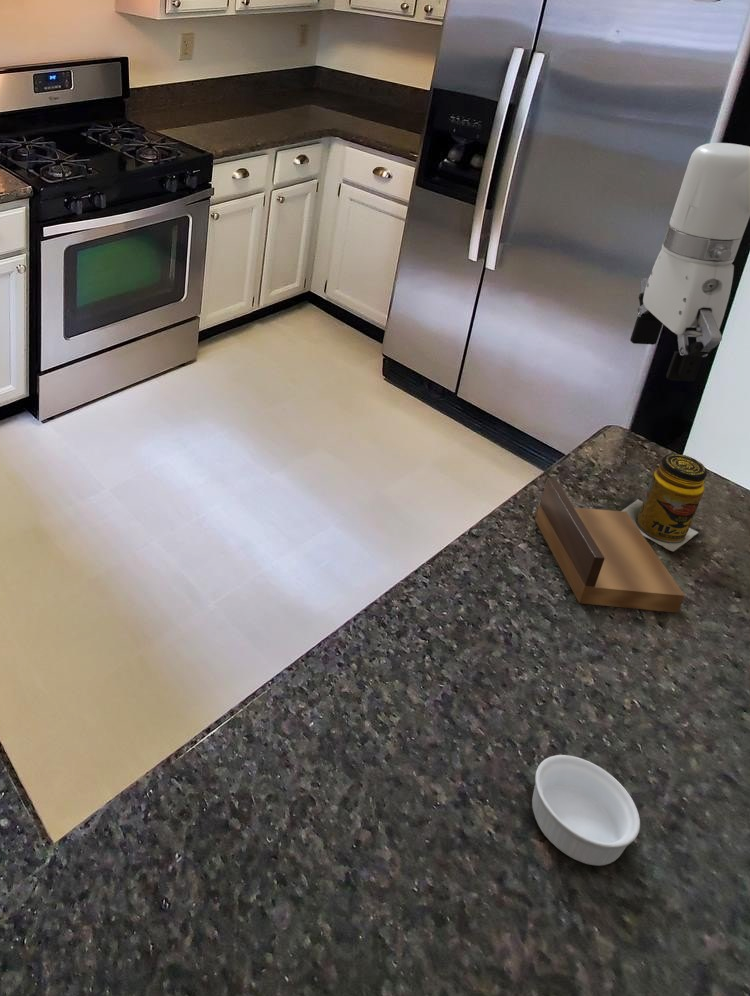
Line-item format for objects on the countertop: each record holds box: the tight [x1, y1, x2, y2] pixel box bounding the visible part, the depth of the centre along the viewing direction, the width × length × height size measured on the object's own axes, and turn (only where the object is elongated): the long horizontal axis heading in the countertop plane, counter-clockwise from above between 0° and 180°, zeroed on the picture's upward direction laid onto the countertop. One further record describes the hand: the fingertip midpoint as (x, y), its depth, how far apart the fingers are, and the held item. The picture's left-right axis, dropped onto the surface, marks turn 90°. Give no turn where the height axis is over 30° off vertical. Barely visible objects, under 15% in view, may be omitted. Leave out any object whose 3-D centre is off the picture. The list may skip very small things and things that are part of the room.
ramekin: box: [531, 754, 641, 866], centre depth 78 cm, size 9×9×4 cm
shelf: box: [534, 477, 686, 614], centre depth 109 cm, size 12×16×8 cm
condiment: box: [622, 453, 708, 552], centre depth 115 cm, size 7×8×12 cm
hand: (660, 360), depth 107 cm, fingers open, 9 cm apart
